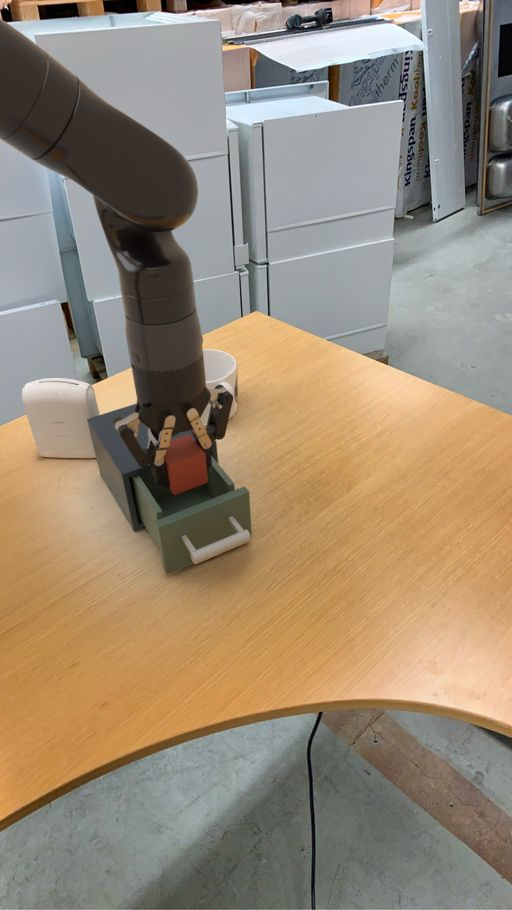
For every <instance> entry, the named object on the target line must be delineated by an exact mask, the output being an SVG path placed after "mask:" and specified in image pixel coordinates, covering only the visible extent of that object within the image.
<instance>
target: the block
mask: <svg viewBox="0 0 512 910" xmlns="http://www.w3.org/2000/svg"><path fill="white" fill-rule="evenodd" d="M164 462H165V463H166V465H167V472H168V478H169V485H170V487H169V488H170V490H171V491H172V493H173V494H174V495H176V494H179V493H182V492H184V491H187V490H189V489H192V488H195V487H197V486H200V485H203V484H205V483H208V476H207V466H206V457H205V453H204V451H203V450H202V449H201V448H200V447H199V445H198V444H197V443H196V442H195V440H194V439H193V438H192V437H191V436H190V434H188V435H185V436H182V437H179V438H176V439H173V440H171V441H170V446H169V449H167V450H166V456H165V461H164Z"/></svg>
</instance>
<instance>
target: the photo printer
mask: <svg viewBox="0 0 512 910" xmlns="http://www.w3.org/2000/svg"><path fill="white" fill-rule="evenodd" d="M21 400H22V405H23V408H24V413H25V415H26V418H27V422H28V423H29V424H28V425H29V427H30V430H31V434H32V437H33V439H34V442H35V445H36V449H37V451H38V454H39V455H40V456H41V457H44V458H60V459H62V458H63V459H68V458H69V459H96V455H95V451H94V446H93V442H92V438H91V434H90V430H89V425H88V421H87V419H89V418H92V417H95V416H98V415H101V414H100V410H99V406H98V401H97V396H96V393H95V389H94V387H93V385H92V384H90V383H88V382H85V381H81V380H77V379H72V378H64V377H48V378H41V379H36V380H32V381H29V382H27V383H25V384H24V386H23V388H22V390H21Z"/></svg>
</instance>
